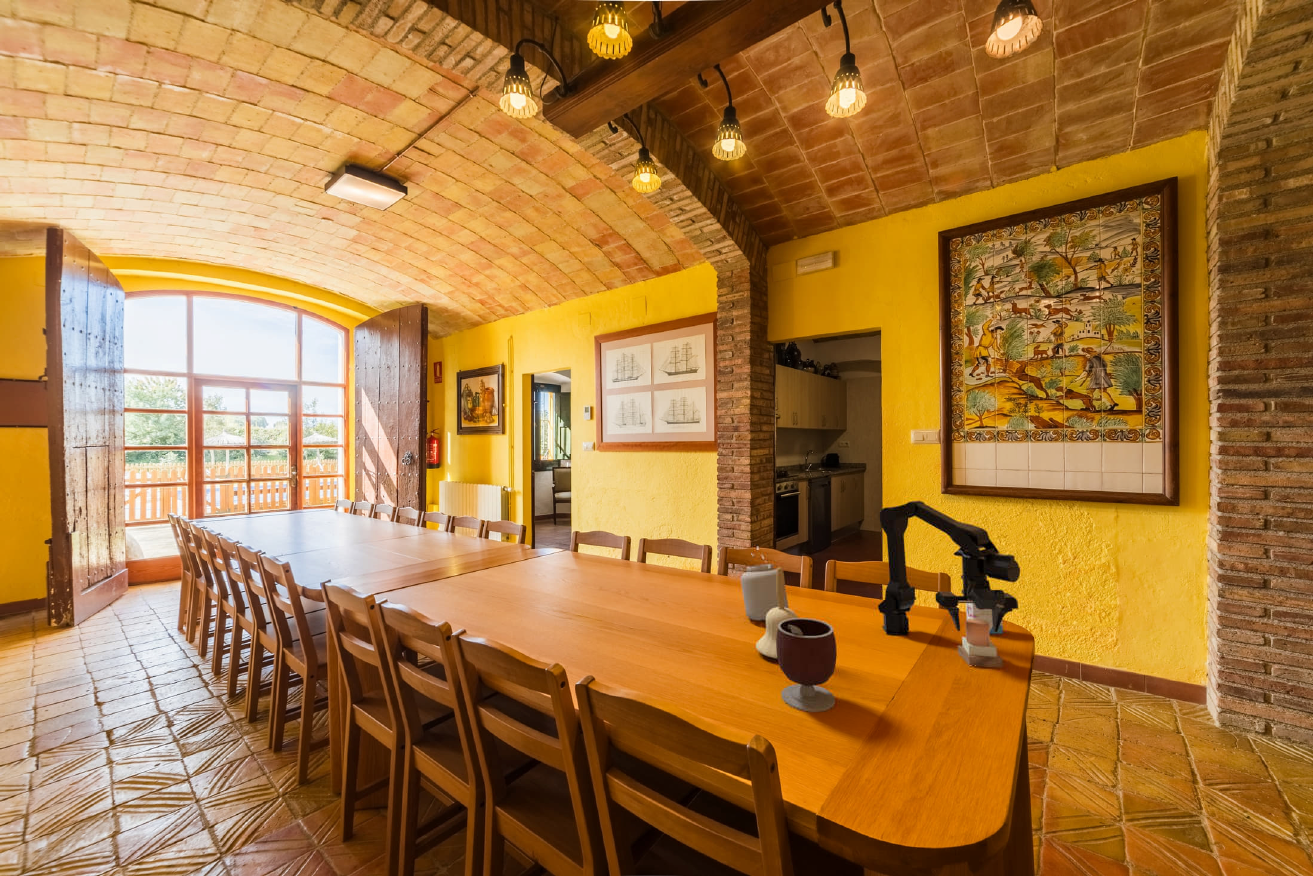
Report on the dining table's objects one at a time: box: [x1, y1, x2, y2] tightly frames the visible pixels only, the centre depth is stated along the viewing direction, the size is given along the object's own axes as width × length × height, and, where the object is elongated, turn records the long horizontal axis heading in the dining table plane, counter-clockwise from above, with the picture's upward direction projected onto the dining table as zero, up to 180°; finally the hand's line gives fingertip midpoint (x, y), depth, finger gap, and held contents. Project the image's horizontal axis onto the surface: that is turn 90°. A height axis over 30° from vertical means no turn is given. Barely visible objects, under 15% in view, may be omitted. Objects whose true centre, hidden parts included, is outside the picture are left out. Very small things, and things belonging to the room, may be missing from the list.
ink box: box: [965, 603, 1004, 635], centre depth 162 cm, size 9×5×12 cm, turn 84°
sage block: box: [961, 636, 998, 657], centre depth 142 cm, size 6×6×2 cm
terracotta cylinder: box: [964, 618, 991, 647], centre depth 141 cm, size 6×6×6 cm
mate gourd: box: [776, 617, 838, 713], centre depth 123 cm, size 16×14×20 cm
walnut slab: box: [957, 645, 1004, 668], centre depth 141 cm, size 8×8×3 cm
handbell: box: [755, 566, 798, 659], centre depth 150 cm, size 15×15×25 cm
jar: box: [740, 546, 790, 621], centre depth 181 cm, size 19×15×25 cm
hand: (976, 631), depth 141 cm, fingers open, 9 cm apart
